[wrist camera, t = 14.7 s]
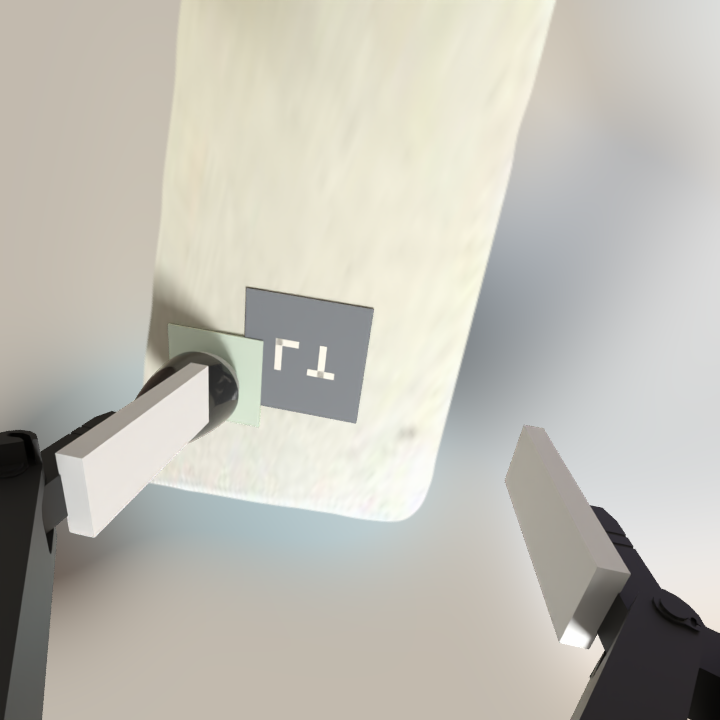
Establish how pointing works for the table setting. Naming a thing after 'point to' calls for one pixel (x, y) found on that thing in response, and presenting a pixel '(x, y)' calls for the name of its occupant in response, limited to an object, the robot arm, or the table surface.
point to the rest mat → (236, 352)
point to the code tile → (309, 352)
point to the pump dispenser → (219, 382)
